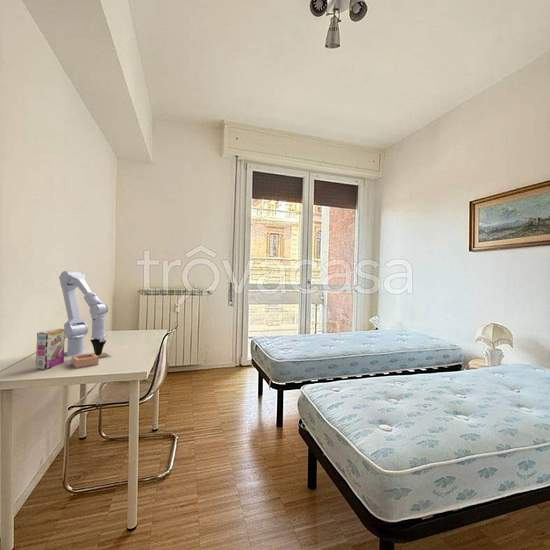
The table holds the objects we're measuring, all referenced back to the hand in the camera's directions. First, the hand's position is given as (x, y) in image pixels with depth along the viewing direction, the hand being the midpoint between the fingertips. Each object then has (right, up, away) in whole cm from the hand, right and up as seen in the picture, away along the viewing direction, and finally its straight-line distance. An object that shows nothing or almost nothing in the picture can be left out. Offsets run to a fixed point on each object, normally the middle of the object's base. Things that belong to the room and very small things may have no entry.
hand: (97, 353), depth 154 cm
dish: (+2, -2, -13) cm, 14 cm away
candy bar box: (-12, -2, -16) cm, 20 cm away
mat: (0, -2, 0) cm, 2 cm away
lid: (0, -1, 0) cm, 1 cm away
